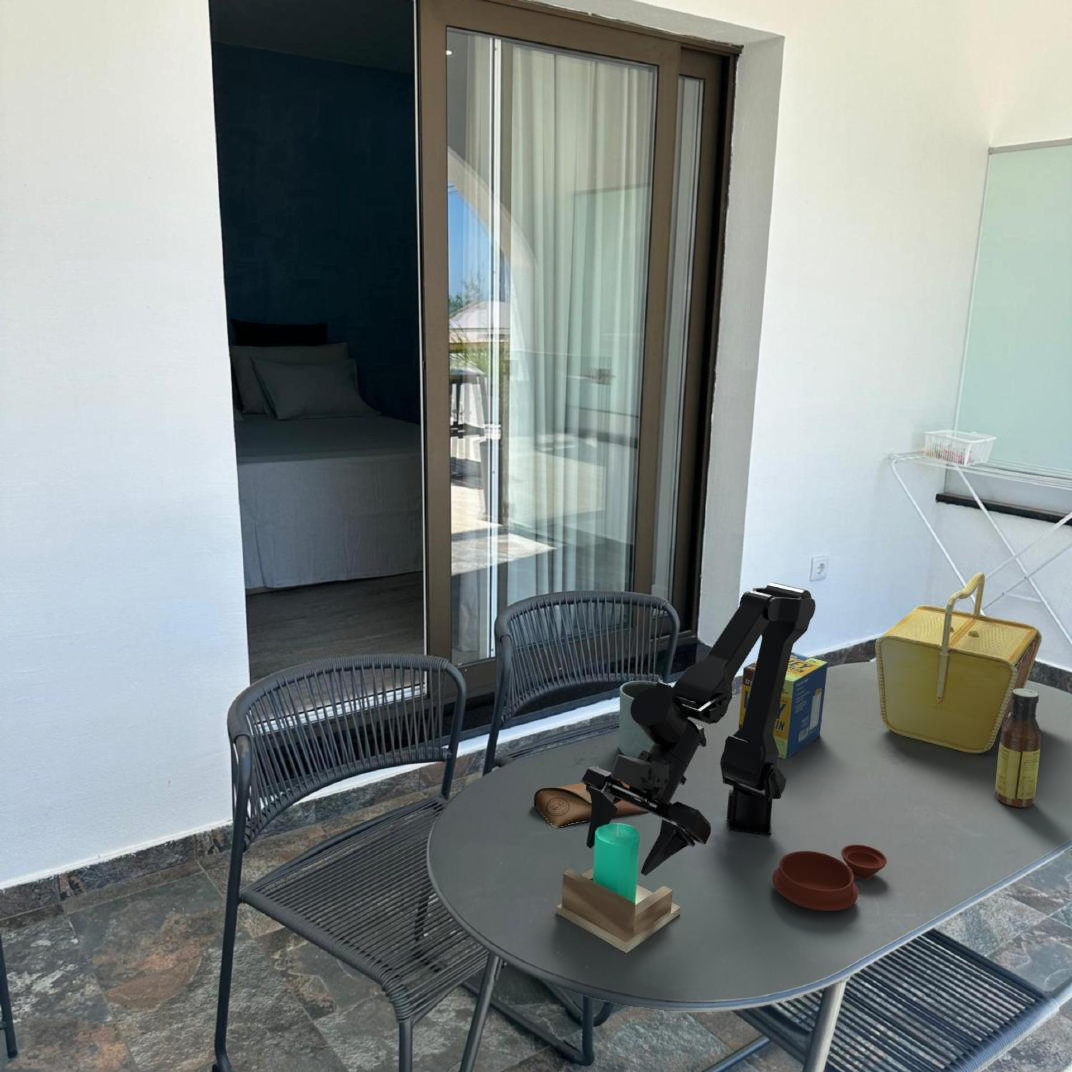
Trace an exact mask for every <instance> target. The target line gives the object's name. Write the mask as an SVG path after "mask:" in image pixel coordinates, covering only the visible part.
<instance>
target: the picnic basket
mask: <svg viewBox="0 0 1072 1072" xmlns="http://www.w3.org/2000/svg"><path fill="white" fill-rule="evenodd" d="M985 579H986V575H985V573H984V572H982V571H979V572H977V573H976V574H975V575H974V576H973V577H972V578H970V580H968V582H967V584H966V585H965V586H964V588H963V589H962V590H959V591H956V592H953V594H951V596H950V597H949V598H948V601H947V603H946V607H942V606H936V605H928V604H922V605H918V606H917V607H915V608H914V609H912V611H910V612H909V613H908V614H907V615H906V616H904V617H903V618H902V619H901V620H900V621H898V622H897V623H896V624H894V625H892V627H890V628H889V629H888V630H887V631H886V632H885V633H884V634H882V635H881V636H879V637H878V638H877V639H876V641H875V645H874V648H875V649H874V650H875V659H876V660H875V661H876V672H877V682H878V683H877V685H878V695H879V708H880V709H879V710H880V716H881V720H882V723H883V724H884V725H885V726H886V727H887V728H888V729H889V730H890V731H891V732H893V733H894V734H897V735H900V736H902V737H907V738H911V739H914V740H917V741H922V742H925V743H928V744H929V743H930V744H933V745H937V746H941V747H944V748H949V749H952V750H956V751H960V752H963V753H967V754H980V753H985V752H987V751H989V750H991V748H992V747H993V746H994V745H995V744H994V743H995V741H996V739H997V735H998V732H999V731H1000V730H1001V729H1002V725H1003V723H1004V722H1005V721H1006V720H1007V719H1008V717H1009V716H1010V713H1011V709H1012V691H1013V690H1014V689H1020V688H1023V689H1025V686H1026V684H1027V681H1028V679H1029V676H1030V674H1031V671H1032V668H1033V665H1034V663H1035V660H1036V657H1037V654H1038V652H1039V651H1040V650H1039V649H1040V646H1041V643H1042V638H1043V635H1042V633H1041V632H1040V630H1039V629H1038V628H1037V627H1035V626H1034V625H1031V624H1029V623H1026V622H1021V621H1020V622H1019V621H1016V620H1010V619H1005V618H1000V617H999V618H997V617H995V616H994V617H993V616H990V615H989V616H988V615H983V614H981V608H982V602H983V595H984V588H985V584H986V583H985ZM975 591H976V595H975V600H974V606H973V607H974V608H973V612H968V611H962V610H957V609H954V606H955V604H956V601H957V600H958V599H959V600H965V599H968V598H969V597H971V596H972V595H973V594H974V593H975Z"/></svg>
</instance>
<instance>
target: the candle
mask: <svg viewBox="0 0 1072 1072" xmlns="http://www.w3.org/2000/svg"><path fill="white" fill-rule="evenodd" d="M640 836H641V835H640V834H639V832H638V830H637V828H636V827H634V826H632V825H630V824H627V823H621V822H620V823H619V822H612V823H609V824H607V825H603V826H601V827H598V828H597V829H596V831H595V845H594V846H593V847H594V849H593V850H594V852H593V867H592V868H593V881H594V882H596V883H598V884H600V885H602V886H604V887H606V888H608V889H609V890H611V891H613V892H615V893H617V894H619V895H621V896H623V897H625V898H627V899H628V900H630V901H632V902H634V903H636V887H637V885H638V884H637V883H638V868H639V852H640V851H639V850H640Z"/></svg>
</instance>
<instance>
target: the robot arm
mask: <svg viewBox="0 0 1072 1072" xmlns="http://www.w3.org/2000/svg"><path fill="white" fill-rule="evenodd" d="M815 612H816V600H815V599H814V598H813V597H812V594H811V592H810V590H807V589H804V588H798V587H794V586H789V585H787V584H782V583H776V582H770V583H768V584H767V585H766V586H765V587H753V588H752V590H748V591H745V592H744V593H743V594H742V596H741V597H740V600H739V606H738V608H737V609H736V610H735V612H734V614H733V615H732V616H731V618H730V619H729V621H728V623H727V624H726V625H725V627H724V629H723V631H722V632H721V633H720V635H719V637H718V638H716V641H715V643H714V644H713V645H712V647H711V648H710V650H709V652H708V653H707V655H706V656H705V657H704V658H703V659H702V660H700V661H698V662H696V663H694V664H692V665H690V666H688V667H687V668H686V669H685V671H684V672H683V673H682V674H681V675H680V676H679V678H677V680H676V681H674V682H673V683H672V684H668V683H665V682H662V681H657V682H656V683H657V684H656V686H655V688H650V689H647V690H645V691H643V692H641V693H640V694H639V695H638V696H636V697H635V698H634V699H633V701H632V704H631V709H630V711H631V716H632V718H633V720H634V721H635V722H636V723H637V724H638V726H639V727H640V728H641V729H642V730H643V731H644V733H645V734H646V735H647V736H648V737H649V739H650V740H651V741H653V744H652V745H651V747H650V749H649V751H648V752H647V751H644V750H643V751H642V752H641V753H640V755H639V756H638V758H637V759H636V758H632V757H628V756H625V755H624V754H623V755H622V754H617V755H616V759H615V760H614V761H615V762H614V765H613V768H612V771H611V772H610V771H608V770H605V769H603V768H600V767H599V766H595V765H592V766H589V767H588V768H586V769H585V771H584V773H583V774H582V777H581V778H580V782H581V783H584V784H585V785H586V791H587V792H588V793H589V794H590V797H591V802H592V808H591V818H590V821H589V824H588V825H589V826H588V830H587V831H588V832H587V838H586V846H587V847H588V848H589V849H593V847H595V831H596V829H597V828H598V827H601V826H603V825H607V824H611V823H610V822H611V821H612V820H613V818H615V817H614V815H615V813H616V812H617V810H618V808H617V807H616V806H615V805H614V804H615V803H618V802H620V801H621V800H623V801H625V802H627V803H630V804H632V805H634V806H636V807H639V808H641V809H643V810H645V811H648V812H647V813H649V814H653V815H655V816H657V817H659V818H661V819H662V820H661V823H660V829H659V834H658V836H657V839H656V840H655V842H654V844H653V845H652V848H651V849H650V850H649V853H648V855H647V856H646V859H645V861H644V862H643V865H642V867H641V869H640V873H641V875H643V876H644V877H646V876H648V875H649V874H650V873H651V872H653V871H654V870H655V869H656V868H658V867H659V866H660V865H662V864H663V863H664V862H665V861H667V860H669V859H670V857H672V856H674V855H675V854H677V853H678V852H680V851H681V850H683V849H685V848H686V847H688V846H690V847H692V848H693V847H695V846H696V843H699V844H701V845H704V846H705V845H706V844H707V843H708V841H709V838H710V836H711V833H712V826H711V823H710V822H709V821H708V819H707V818H706V817H705V816H704V815H703V814H702V813H701V811H700V810H699V809H697V808H695V807H692V806H689V805H687V804H685V803H683V802H680V801H678V800H677V801H675V802H674V803H672V802H671V800H672V799H673V796H674V795H675V792H676V790H677V789H678V787H679V786H680V785H681V786H684V785H685V784H686V781H687V777H685V776H684V775H685V774H686V771H687V770H688V767H689V765H690V763H691V761H692V759H693V758H694V755H695V753H696V751H697V750H698V747H699V746H700V747H702V748H706V746H707V737H706V735H705V728H704V726H701V725H697V724H696V723H694V721H692V720H691V719H688V718H692V719H694V720H697V721H700V722H702V723H705V724H709V725H711V724H717V723H718V722H720V720H722V718H723V717H725V715H726V714H727V711H728V708H729V705H730V703H731V701H732V699H733V696H734V695H733V682H734V679H735V677H736V675H737V674H738V672H739V671H740V669H741V667H742V666H743V664H744V662H746V659H747V658H748V656H749V654H750V653H751V652H752V650H753V648H754V647H755V645H756V643H757V642H758V640H759V639H760V637H761V639H760V645H759V648H758V654H757V659H756V661H757V662H756V661H755V662H756V666H755V671H754V675H753V680H752V684H751V688H750V693H749V697H748V701H747V706H746V710H745V715H744V719H743V723H742V726H741V728H740V729H739V730H738V729H737V730H736V731H735V732H734V733H733V735H728V736H727V737H726V739H725V742H724V749H723V752H722V754H721V757H720V760H719V761H720V763H719V765H720V770H721V771H720V772H721V777H722V783H723V784H724V785H727V786H731V787H732V789H729V790H728V798H727V799H728V800H727V812H726V820H727V821H729V822H728V828H729V830H732V831H740V832H747V833H753V834H761V835H771V833H772V825H771V824H772V811H773V810H772V809H773V800H780V799H781V798H782V794H783V793H784V791H785V788H786V783H787V778H786V776H785V775H784V774H783V773H782V771H781V769H780V768H779V767H778V763H779V758H780V757H779V751H778V748H777V745H776V742H775V739H774V736H773V730H774V726H775V721H776V717H777V712H778V708H779V704H780V699H781V695H782V691H783V686H784V682H785V678H786V673H787V669H788V665H789V660H790V656H791V652H792V650H793V646H794V645H795V643H796V642H797V641H798V640H799V639H800V638H802V636H803V635H804V634H805V633H807V632H808V629H809V625H810V624H811V620H812V619H813V618H814V615H815ZM618 779H619V780H622V781H623V782H624V783H625V784H627V785H629V786H630V787H629V788H627V787H625V786H624V785H623V784H622V783H621V782H620V781H619V780H618ZM635 798H636V799H638V800H640V801H641V802H640V801H638V800H636V799H635Z"/></svg>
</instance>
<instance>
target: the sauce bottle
mask: <svg viewBox="0 0 1072 1072" xmlns="http://www.w3.org/2000/svg"><path fill="white" fill-rule="evenodd" d="M1039 696H1040V694H1039V693H1038V692H1037V691H1035V690H1033V689H1029V688H1024V689H1023V688H1020V689H1014V690H1013V691H1012V709H1011V712H1010V713H1009V715H1008V717H1007V718H1006V720H1005V721H1004V723H1003V724H1002V726H1001V733H1000V740H999V746H998V755H997V765H996V775H995V777H996V778H995V786H994V789H995V792H994V793H995V797H996V799H997V800H998V801H999V802H1001V803H1002V804H1005V805H1008V806H1011V807H1014V808H1029V807H1032V806H1033V803H1034V801H1035V800H1034V799H1035V796H1036V791H1037V780H1038V773H1039V764H1040V757H1041V756H1040V755H1041V738H1042V731H1041V728H1040V726H1039V724H1038V721H1037V719H1036V717H1037V715H1036V714H1037V713H1036V711H1037V707H1038V705H1037V704H1038V703H1039V699H1040V697H1039Z"/></svg>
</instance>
